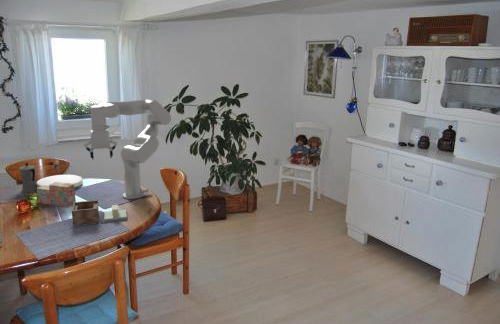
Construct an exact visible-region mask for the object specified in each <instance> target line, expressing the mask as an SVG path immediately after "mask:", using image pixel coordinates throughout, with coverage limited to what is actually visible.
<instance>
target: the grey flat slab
mask: <svg viewBox="0 0 500 324" xmlns="http://www.w3.org/2000/svg"><path fill="white" fill-rule="evenodd" d="M105 212H106V211H104V212H101V220H100V221H101V222H100V223H101V224H107V223H108V222H110V223H118V222H126V221H128V217H127V218H126V219H117V220H108V221H105V220H104V216H105ZM127 214H128V213H127V211H126V215H127ZM127 216H128V215H127Z"/></svg>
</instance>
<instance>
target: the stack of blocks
mask: <svg viewBox="0 0 500 324" xmlns="http://www.w3.org/2000/svg"><path fill="white" fill-rule="evenodd" d="M75 192H76V190H75V187H74V184H69V183H62V182H55V183H52V184H50V185H49V186H47V185H43V186H41V187H37V191H36V195H37V197H38V196H39V202H38V203H39V204H45V205H50V206H51V205H53V206H58V207H66V208H70V207H73V204H74V202H77V200H76V193H75Z"/></svg>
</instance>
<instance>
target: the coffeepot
mask: <svg viewBox="0 0 500 324" xmlns="http://www.w3.org/2000/svg"><path fill="white" fill-rule="evenodd" d="M18 169H19V172H20V175H21V179H22V192H23V193H26V192H27V193H34V192H37V188H38V187H37V181H36V178H35V177H36V166H35V165H29V163H28V162H25V163H24V165H23V166H20V167H19V168H18Z"/></svg>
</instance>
